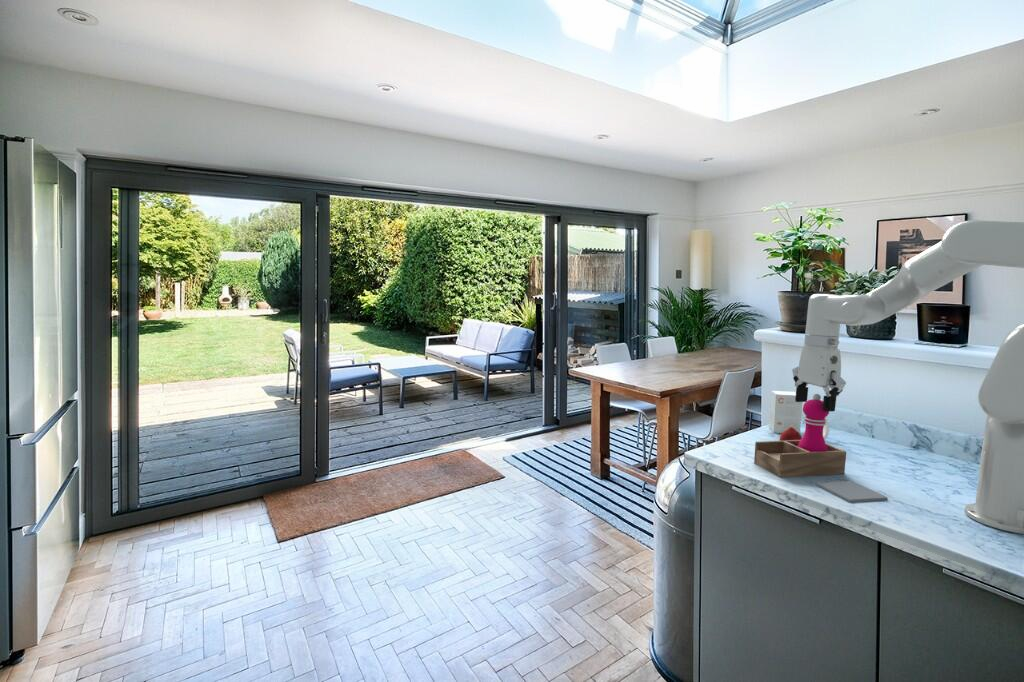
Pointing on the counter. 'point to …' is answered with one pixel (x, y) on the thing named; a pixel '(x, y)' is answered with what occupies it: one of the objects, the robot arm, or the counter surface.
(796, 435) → the onion
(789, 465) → the box
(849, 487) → the mat
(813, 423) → the pepper mill
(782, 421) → the small box
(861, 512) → the counter surface
